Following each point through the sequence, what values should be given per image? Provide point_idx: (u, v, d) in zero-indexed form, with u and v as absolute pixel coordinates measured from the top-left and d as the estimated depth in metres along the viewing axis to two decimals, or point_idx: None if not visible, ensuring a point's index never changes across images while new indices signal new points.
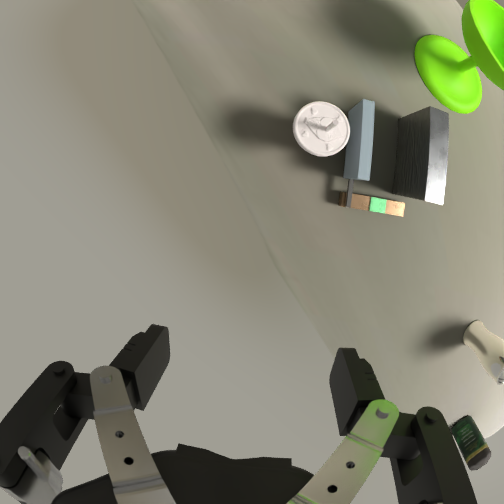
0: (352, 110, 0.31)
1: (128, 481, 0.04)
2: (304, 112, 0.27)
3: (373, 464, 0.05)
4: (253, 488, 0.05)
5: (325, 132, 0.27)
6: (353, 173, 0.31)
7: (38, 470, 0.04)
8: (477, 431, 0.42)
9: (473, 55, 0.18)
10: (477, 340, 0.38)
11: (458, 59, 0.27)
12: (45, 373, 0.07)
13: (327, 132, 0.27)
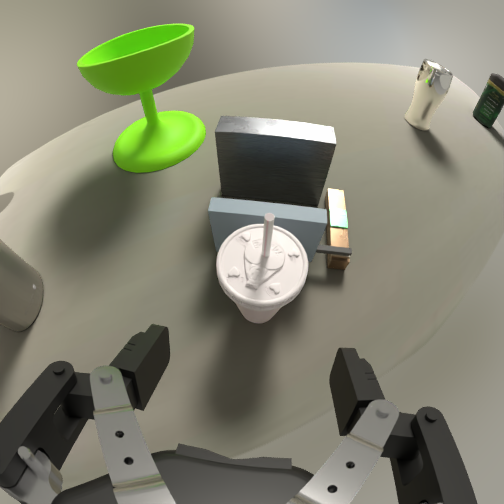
0: (218, 241, 0.27)
1: (128, 481, 0.04)
2: (236, 287, 0.18)
3: (373, 464, 0.05)
4: (253, 488, 0.05)
5: (271, 256, 0.19)
6: (315, 235, 0.24)
7: (38, 470, 0.04)
8: (482, 97, 0.47)
9: (147, 81, 0.26)
10: (424, 112, 0.41)
11: (142, 128, 0.40)
12: (45, 373, 0.07)
13: (270, 253, 0.19)
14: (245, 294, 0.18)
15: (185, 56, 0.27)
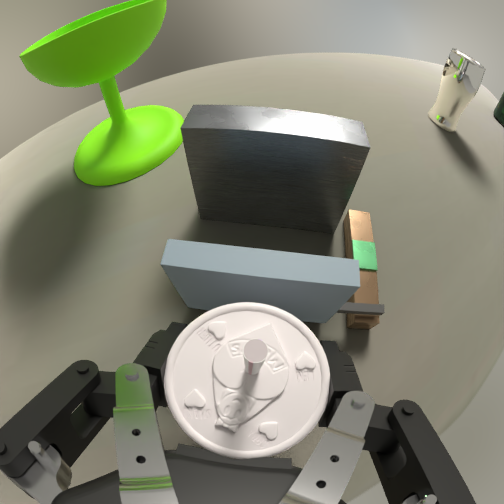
0: (187, 298, 0.17)
1: (136, 479, 0.04)
2: (199, 427, 0.08)
3: (357, 456, 0.05)
4: (253, 488, 0.05)
5: (262, 374, 0.09)
6: (337, 299, 0.15)
7: (47, 465, 0.04)
8: None
9: (98, 65, 0.16)
10: (452, 110, 0.31)
11: (110, 128, 0.30)
12: (68, 371, 0.07)
13: (262, 368, 0.09)
14: (215, 440, 0.08)
15: (151, 30, 0.17)
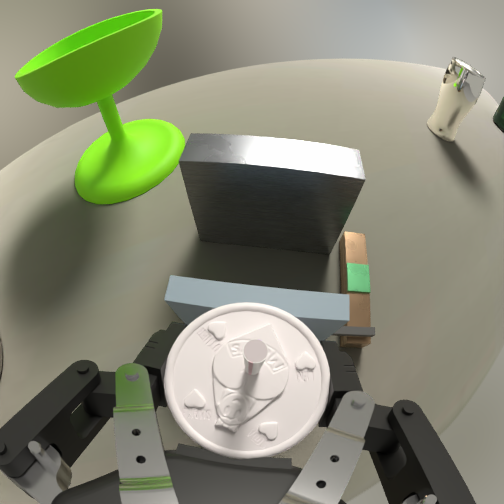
0: (189, 323, 0.18)
1: (136, 479, 0.04)
2: (199, 427, 0.08)
3: (357, 456, 0.05)
4: (253, 488, 0.05)
5: (262, 374, 0.09)
6: (328, 328, 0.16)
7: (47, 465, 0.04)
8: None
9: (94, 88, 0.17)
10: (451, 120, 0.32)
11: (109, 143, 0.31)
12: (68, 371, 0.07)
13: (262, 368, 0.09)
14: (215, 440, 0.08)
15: (147, 49, 0.18)
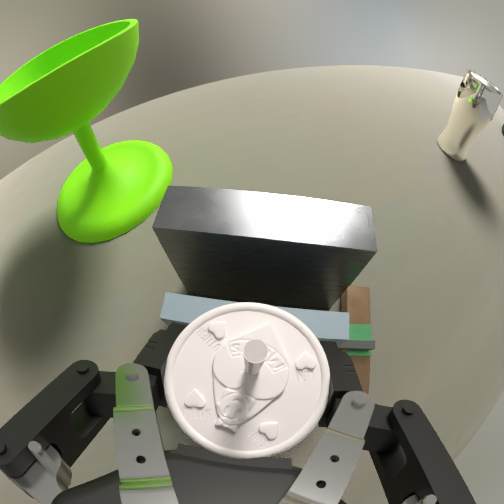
0: None
1: (136, 479, 0.04)
2: (199, 427, 0.08)
3: (357, 456, 0.05)
4: (253, 488, 0.05)
5: (262, 374, 0.09)
6: None
7: (47, 465, 0.04)
8: None
9: (60, 123, 0.14)
10: (464, 138, 0.30)
11: (91, 170, 0.29)
12: (68, 371, 0.07)
13: (262, 368, 0.09)
14: (215, 440, 0.08)
15: (120, 72, 0.15)
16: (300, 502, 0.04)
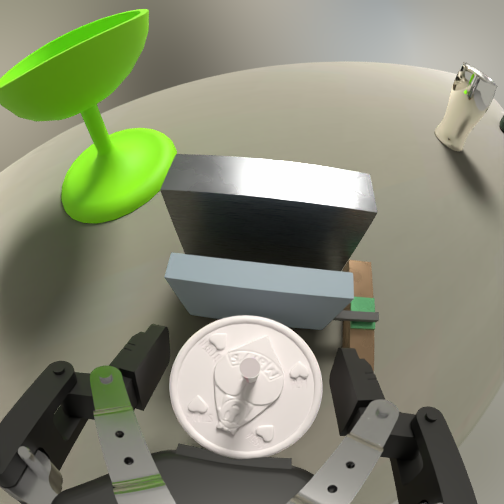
0: (189, 306, 0.18)
1: (128, 481, 0.04)
2: (201, 430, 0.09)
3: (373, 464, 0.05)
4: (253, 488, 0.05)
5: (259, 382, 0.10)
6: (332, 309, 0.15)
7: (38, 470, 0.04)
8: None
9: (72, 100, 0.15)
10: (460, 129, 0.30)
11: (97, 155, 0.29)
12: (45, 374, 0.07)
13: (259, 376, 0.10)
14: (216, 441, 0.09)
15: (131, 55, 0.16)
16: (300, 502, 0.04)
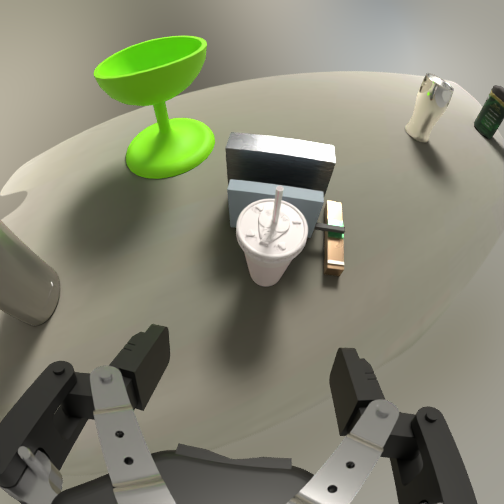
0: (232, 217, 0.32)
1: (128, 481, 0.04)
2: (252, 244, 0.23)
3: (373, 464, 0.05)
4: (253, 488, 0.05)
5: (279, 222, 0.24)
6: (313, 213, 0.29)
7: (38, 470, 0.04)
8: (483, 109, 0.50)
9: (162, 95, 0.29)
10: (424, 124, 0.44)
11: (154, 134, 0.43)
12: (45, 374, 0.07)
13: (279, 220, 0.24)
14: (259, 249, 0.23)
15: (198, 71, 0.29)
16: (300, 502, 0.04)
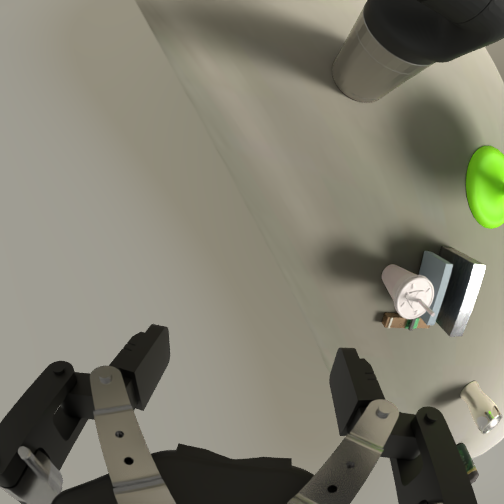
0: (430, 256, 0.37)
1: (128, 481, 0.04)
2: (406, 287, 0.32)
3: (373, 464, 0.05)
4: (253, 488, 0.05)
5: (417, 303, 0.32)
6: (422, 315, 0.36)
7: (38, 470, 0.04)
8: (468, 456, 0.47)
9: None
10: (471, 398, 0.43)
11: (502, 174, 0.33)
12: (45, 373, 0.07)
13: (418, 303, 0.32)
14: (403, 292, 0.32)
15: None
16: (300, 502, 0.04)
